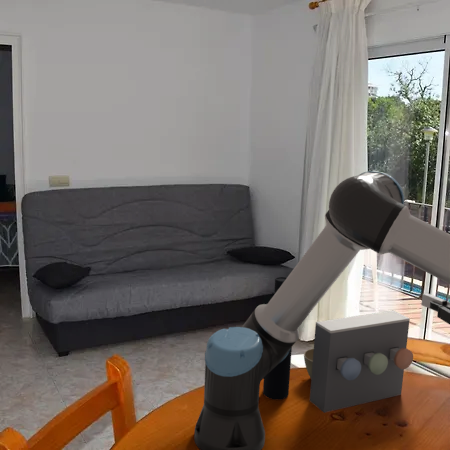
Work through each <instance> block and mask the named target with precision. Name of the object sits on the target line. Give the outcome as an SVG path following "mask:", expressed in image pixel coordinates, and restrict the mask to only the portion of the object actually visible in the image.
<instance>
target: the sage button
mask: <svg viewBox="0 0 450 450" xmlns="http://www.w3.org/2000/svg"><path fill="white" fill-rule="evenodd" d="M364 364H366V365H368V369H369V370H370V371H371V372H372V373H374V374H376V375H379V374H381V373H383V372H384V371H385V369H386V368H387V365H388V359H387V357H386V356H385V355H383V354H381V353H375V354H374V353H373V352H371V353H366V354H364Z"/></svg>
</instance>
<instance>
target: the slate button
mask: <svg viewBox="0 0 450 450" xmlns="http://www.w3.org/2000/svg"><path fill="white" fill-rule="evenodd" d="M337 369H339V370H340V371H341V375H342V376H343V377H344V378H345V379H347V380H354V379H355V378H357V377H358V375H359V374H360V371H361V364H360V362H359V361H358V360H356V359H354V358H346V357H344V358H339V359H338V360H337Z"/></svg>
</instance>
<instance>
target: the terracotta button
mask: <svg viewBox="0 0 450 450" xmlns="http://www.w3.org/2000/svg"><path fill="white" fill-rule="evenodd" d="M389 358H390V359H392V360H393V361H394V364H395V365H396V366H397V367H398V368H400V369H404V370H405V369H408V368H409V367H411V365H412V363H413V361H414V353H413V351H412V350H410V349H408V348H407V347H406V348H401V349H399V348H393V349H390V354H389Z"/></svg>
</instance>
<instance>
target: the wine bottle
mask: <svg viewBox="0 0 450 450" xmlns="http://www.w3.org/2000/svg"><path fill="white" fill-rule="evenodd" d="M286 279H287V277H284V276H280V277H279V276H277V277H275V279H274V290H273V291H274V294H275V293H276V292H277V291H278V289H279V288H280V287H281V285H282V284H283V283H284V281H285V280H286ZM292 347H293V346H292ZM292 347H291V349H290V351H289V353H288V355H287V356H286V358H285V359H284V360H283V361H282V362H280V363H279V364H278V365H277V366H276V367H274V368H273V369H272V370H271V371H270V372H269V373H268V374H267V375H266V376H265V377H264V378H263V385H262V394H263V396H264V397H266V398H267V399H270V400H274V401H275V400H276V401H280V400H284V399H287V398H288V397H289V393H290V392H289V391H290V390H289V389H290V377H291V364H292V351H293V350H292Z"/></svg>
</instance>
